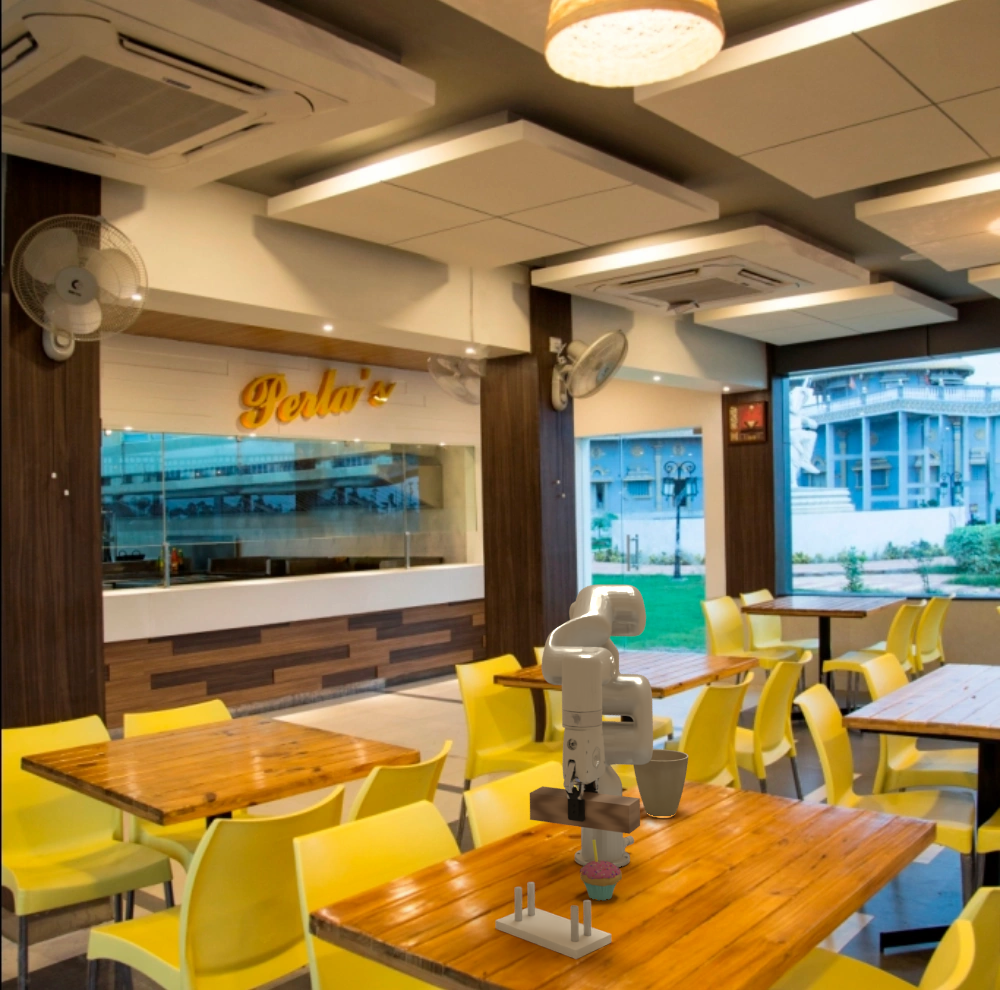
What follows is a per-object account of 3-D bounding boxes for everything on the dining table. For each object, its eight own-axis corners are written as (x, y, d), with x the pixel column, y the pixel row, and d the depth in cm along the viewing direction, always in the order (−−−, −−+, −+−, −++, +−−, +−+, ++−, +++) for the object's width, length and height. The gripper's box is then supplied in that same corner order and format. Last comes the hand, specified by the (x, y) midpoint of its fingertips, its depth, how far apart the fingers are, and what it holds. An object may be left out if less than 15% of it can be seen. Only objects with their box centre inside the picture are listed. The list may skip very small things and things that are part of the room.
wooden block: (640, 825, 184) (639, 798, 184) (629, 833, 179) (629, 805, 179) (542, 812, 193) (542, 786, 194) (529, 819, 189) (529, 793, 189)
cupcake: (571, 896, 206) (571, 837, 207) (598, 886, 212) (597, 829, 212) (603, 907, 200) (603, 846, 200) (630, 896, 206) (629, 837, 206)
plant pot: (700, 814, 266) (699, 754, 266) (668, 826, 255) (667, 763, 256) (653, 804, 276) (652, 746, 277) (621, 815, 265) (620, 755, 266)
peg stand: (495, 928, 189) (495, 888, 190) (531, 913, 197) (530, 875, 197) (576, 959, 176) (575, 915, 176) (611, 942, 183) (610, 900, 183)
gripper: (582, 728, 178) (583, 831, 177) (617, 712, 193) (618, 807, 192) (544, 724, 181) (545, 825, 181) (581, 709, 196) (582, 802, 196)
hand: (583, 815), depth 186 cm, fingers closed on wooden block, 5 cm apart
